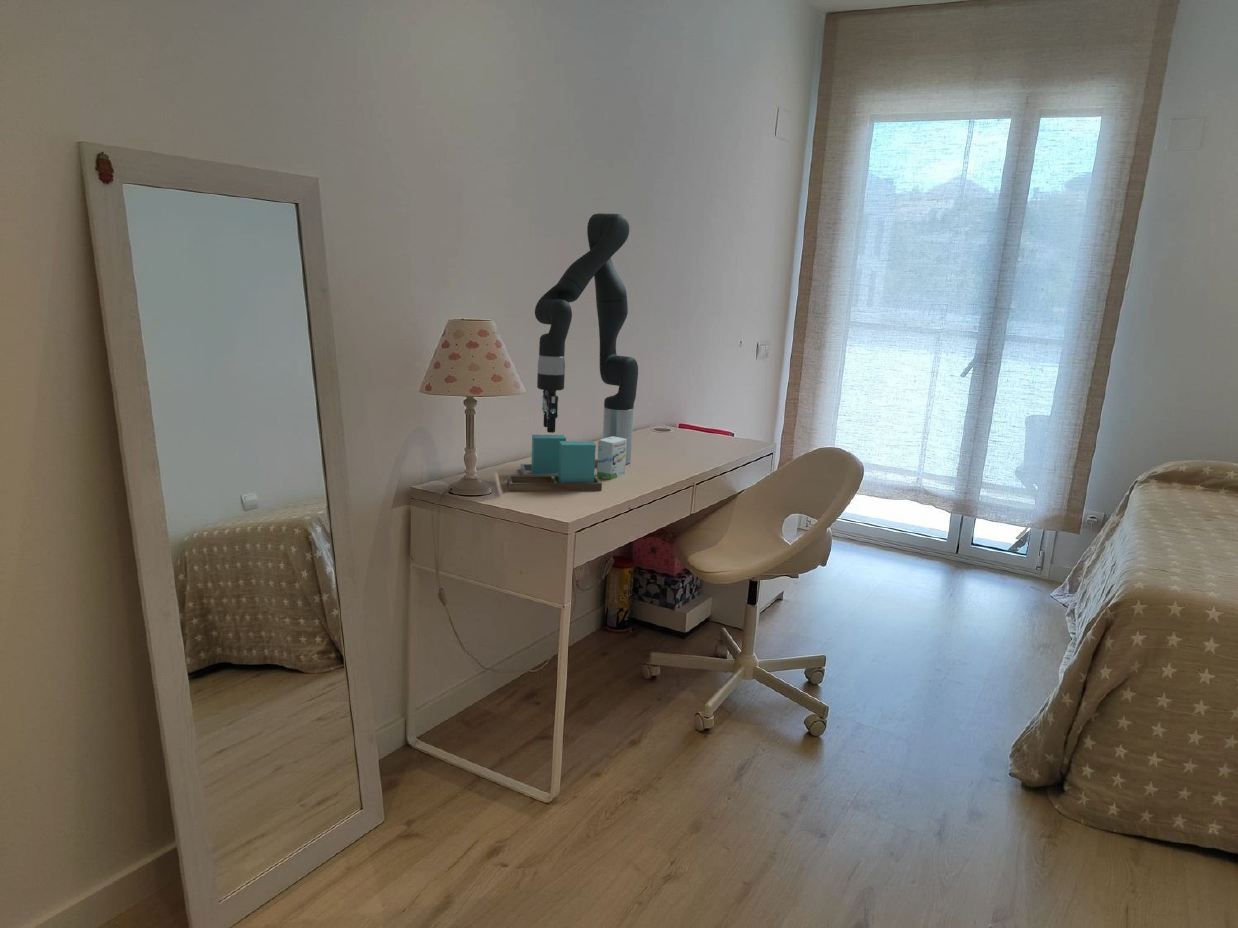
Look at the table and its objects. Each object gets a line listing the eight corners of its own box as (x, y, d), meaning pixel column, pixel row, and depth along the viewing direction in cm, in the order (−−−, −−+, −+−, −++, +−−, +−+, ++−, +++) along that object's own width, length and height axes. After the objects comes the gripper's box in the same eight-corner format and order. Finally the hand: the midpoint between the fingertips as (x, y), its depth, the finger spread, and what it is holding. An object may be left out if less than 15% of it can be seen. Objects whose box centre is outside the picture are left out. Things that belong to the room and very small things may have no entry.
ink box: (610, 483, 226) (612, 442, 223) (595, 480, 228) (597, 440, 225) (625, 477, 233) (627, 438, 230) (611, 475, 235) (613, 435, 233)
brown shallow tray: (507, 486, 217) (507, 475, 216) (595, 485, 222) (596, 475, 221) (509, 494, 209) (509, 483, 208) (601, 494, 214) (601, 483, 213)
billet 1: (531, 475, 230) (532, 434, 227) (562, 475, 232) (563, 434, 229) (533, 479, 225) (534, 438, 223) (564, 479, 227) (566, 438, 224)
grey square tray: (520, 472, 233) (520, 464, 232) (570, 472, 236) (570, 464, 235) (524, 483, 221) (524, 474, 220) (576, 482, 224) (576, 474, 223)
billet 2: (558, 484, 218) (559, 441, 215) (590, 484, 219) (592, 441, 217) (560, 489, 213) (561, 445, 210) (593, 488, 215) (595, 445, 212)
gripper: (568, 375, 216) (565, 434, 219) (561, 369, 229) (559, 425, 233) (540, 374, 214) (538, 434, 218) (534, 369, 228) (533, 425, 231)
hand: (549, 429), depth 225 cm, fingers open, 8 cm apart
